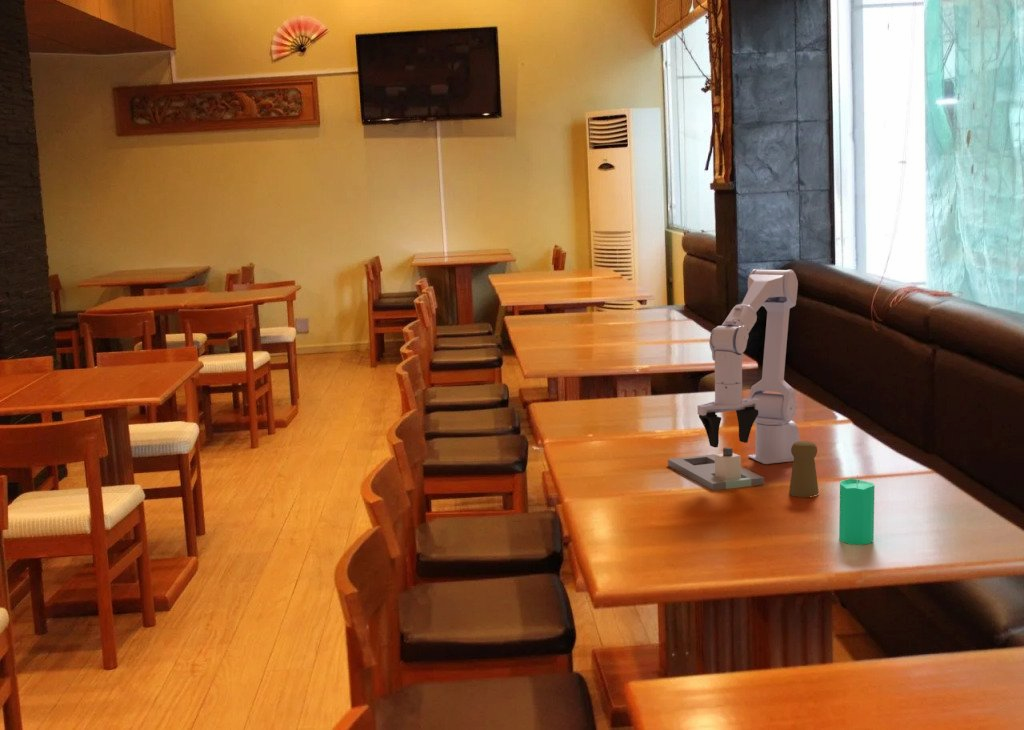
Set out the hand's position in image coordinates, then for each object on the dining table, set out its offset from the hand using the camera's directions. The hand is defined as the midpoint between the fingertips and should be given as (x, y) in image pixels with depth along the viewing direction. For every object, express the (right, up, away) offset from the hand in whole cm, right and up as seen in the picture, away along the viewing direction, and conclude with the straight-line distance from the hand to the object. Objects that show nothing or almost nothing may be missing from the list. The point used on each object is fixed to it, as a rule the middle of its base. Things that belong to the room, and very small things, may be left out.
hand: (728, 444), depth 247 cm
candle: (+16, -15, -40) cm, 45 cm away
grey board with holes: (-2, -7, +8) cm, 11 cm away
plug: (0, -8, +2) cm, 9 cm away
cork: (+14, -10, -9) cm, 19 cm away
